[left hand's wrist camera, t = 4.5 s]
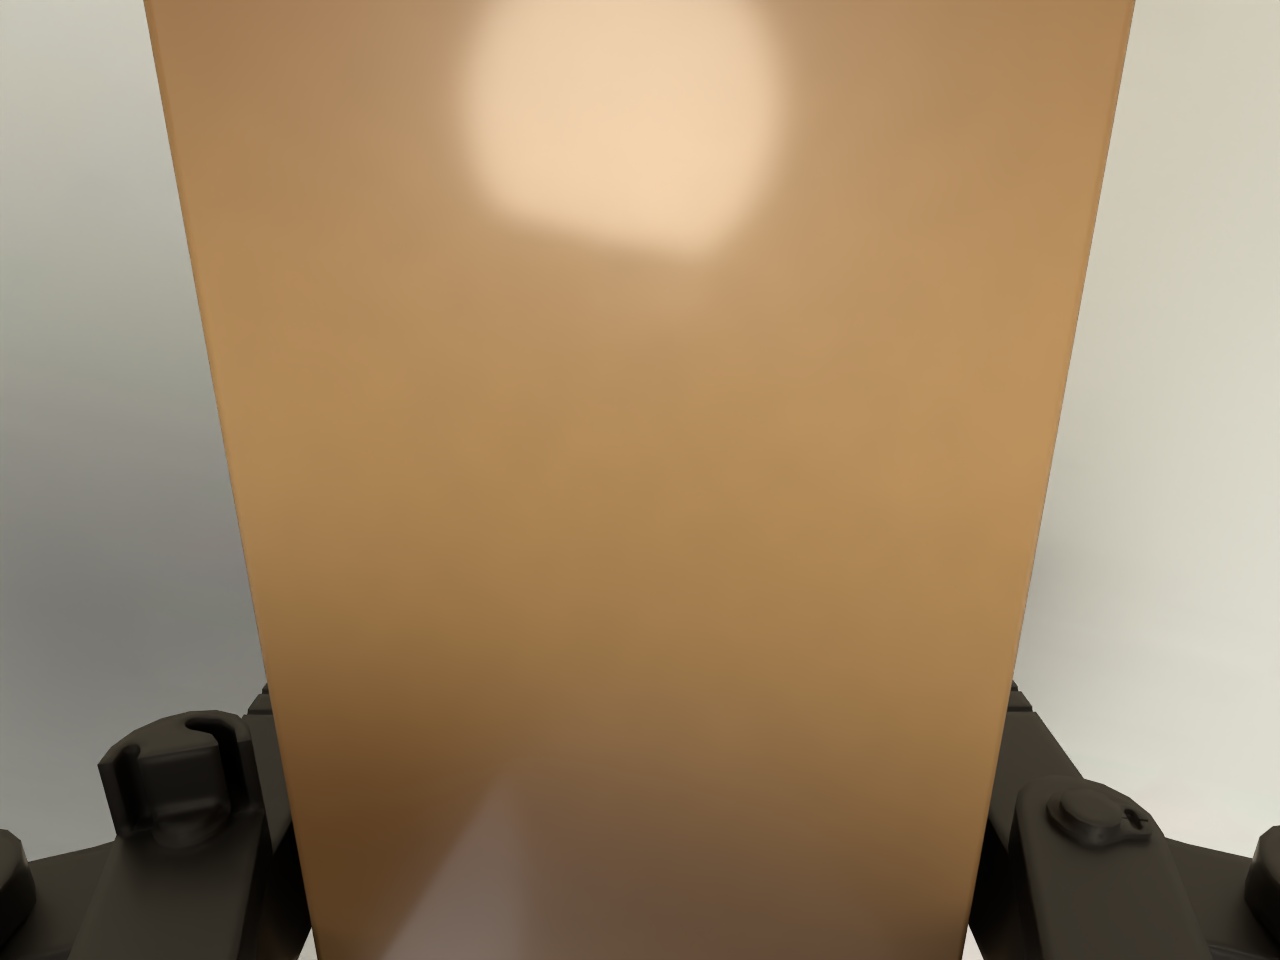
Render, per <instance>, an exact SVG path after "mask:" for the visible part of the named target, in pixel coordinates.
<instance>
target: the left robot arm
mask: <svg viewBox="0 0 1280 960" xmlns="http://www.w3.org/2000/svg"><path fill="white" fill-rule="evenodd" d="M98 769H99V772H100V776H101V780H102V783H103V787H104V790H105V794H106V798H107V801H108V805H109V809H110V812H111V816H112V820H113V823H114V827H115V830H116V834H117V835H116V838H115V841H113V842H109V843H106V844H103V845H99V846H96V847H92V848H88V849H83V850H79V851H74V852H70V853H66V854H61V855H57V856H52V857H48V858H44V859H39V860H35V861H30V862H28V861H27V858H26V855H25V852H24V849H23V846H22V843H21V840H19V839H18V838H17V837H16V836H14V835H13V834H12V833H11V832H9V831H8V830H3V829H0V960H298V958H299V955H300V953H301V951H302V948H303V946H304V943H305V941H306V939H307V936H308V934H309V932H310V929H311V927H312V926H311V920H310V915H309V909H308V904H307V898H306V893H305V887H304V882H303V876H302V871H301V865H300V860H299V854H298V849H297V843H296V838H295V832H294V827H293V821H292V816H291V810H290V805H289V799H288V794H287V788H286V783H285V777H284V772H283V766H282V761H281V755H280V750H279V744H278V739H277V733H276V728H275V722H274V717H273V711H272V706H271V700H270V695H269V689H268V684H267V683H266V685H265V686H264V688H263V689H262V694H259V695H258V696H257V697H256V699H255V700H254V702H253V703H252V705H251V706H250V707H249V709H248V714H247V715H244V716H243V717H242V719H241V718H240V717H239V716H238V715H235V714H231V713H226V712H222V711H218V710H209V711H190V712H186V713H181V714H177V715H173V716H169V717H165V718H161V719H159V720H157V721H155V722H152V723H150V724H148V725H146V726H143V727H141V728H139V729H137V730H134V731H133V732H131V733H130V734H129V735H127V736H126V737H124V738H123V739H122V740H120V741H119V742H117V743H116V744H115V745H113V746H112V747H111V748H110V749H109V750H108V752H107V753H106V754H105V756H104V757H103V758H102V759H101V761H100V762H99V763H98ZM968 924H969V927H970V929H971V931H972V934H973V936H974V938H975V941H976V943H977V945H978V947H979V950H980V952H981V954H982V957H983V959H984V960H1280V825H1279V826H1273V827H1271V828H1270V829H1269V830H1268V831H1266V832H1265V833H1264V834H1263V835H1261V836H1260V838H1259V841H1258V844H1257V847H1256V850H1255V853H1254V856H1253V859H1252V858H1248V857H1243V856H1239V855H1235V854H1230V853H1226V852H1221V851H1217V850H1212V849H1208V848H1203V847H1199V846H1195V845H1190V844H1186V843H1183V842H1179V841H1176V840H1172V839H1169V838H1166V837H1165V836H1164V834H1163V832H1162V831H1161V829H1160V828H1159V826H1158V825H1157V824H1156V822H1155V821H1154V819H1153V818H1152V816H1151V815H1150V814H1149V813H1148V812H1147V811H1145V810H1144V809H1143V808H1142V807H1141V806H1139V805H1138V804H1137V803H1136V802H1134V801H1133V800H1132V799H1131V798H1129V797H1128V796H1126V795H1124V794H1122V793H1120V792H1118V791H1116V790H1114V789H1112V788H1110V787H1108V786H1106V785H1104V784H1101V783H1097V782H1094V781H1090V780H1087V779H1084V778H1083V777H1082V775H1081V774H1080V773H1079V771H1078V770H1077V768H1076V767H1075V766H1074V764H1073V763H1072V762H1071V760H1070V759H1069V757H1068V756H1067V755H1066V753H1065V752H1064V750H1063V749H1062V748H1061V746H1060V745H1059V743H1058V742H1057V741H1056V739H1055V738H1054V736H1053V735H1052V734H1051V732H1050V731H1049V729H1048V728H1047V727H1046V725H1045V724H1044V723H1043V721H1042V720H1041V718H1040V717H1039V716H1038V714H1037V713H1036V712H1033V711H1032V706H1031V704H1030V703H1029V702H1028V700H1027V699H1026V697H1025V696H1024V695H1023V693H1022V692H1021V691H1018V686H1017V685H1016V684H1015V682H1014V681H1013V679H1012V684H1011V690H1010V695H1009V701H1008V706H1007V712H1006V718H1005V723H1004V729H1003V734H1002V740H1001V745H1000V751H999V756H998V762H997V767H996V773H995V778H994V784H993V789H992V795H991V800H990V806H989V811H988V817H987V822H986V828H985V833H984V839H983V844H982V850H981V856H980V861H979V867H978V872H977V878H976V883H975V889H974V894H973V900H972V905H971V911H970V916H969V922H968Z"/></svg>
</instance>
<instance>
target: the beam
mask: <svg viewBox="0 0 1280 960" xmlns="http://www.w3.org/2000/svg"><path fill="white" fill-rule="evenodd" d="M143 1H144V6H145V12H146V17H147V23H148V28H149V34H150V39H151V45H152V50H153V56H154V61H155V67H156V72H157V78H158V83H159V89H160V94H161V100H162V105H163V111H164V116H165V122H166V127H167V133H168V138H169V144H170V149H171V155H172V160H173V166H174V171H175V177H176V182H177V188H178V193H179V199H180V204H181V210H182V215H183V221H184V226H185V232H186V237H187V243H188V248H189V254H190V259H191V265H192V270H193V276H194V281H195V287H196V292H197V298H198V304H199V309H200V315H201V320H202V326H203V331H204V337H205V342H206V348H207V353H208V359H209V364H210V370H211V375H212V381H213V386H214V392H215V397H216V403H217V408H218V414H219V419H220V425H221V430H222V436H223V441H224V447H225V452H226V458H227V463H228V469H229V474H230V480H231V485H232V491H233V496H234V502H235V507H236V513H237V518H238V524H239V529H240V535H241V540H242V546H243V551H244V557H245V562H246V568H247V573H248V579H249V584H250V590H251V595H252V601H253V606H254V612H255V617H256V623H257V628H258V634H259V639H260V645H261V650H262V656H263V661H264V667H265V673H266V678H267V684H268V689H269V695H270V700H271V706H272V711H273V717H274V722H275V728H276V733H277V739H278V744H279V750H280V755H281V761H282V766H283V772H284V777H285V783H286V788H287V794H288V799H289V805H290V810H291V816H292V821H293V827H294V832H295V838H296V843H297V849H298V854H299V860H300V865H301V871H302V876H303V882H304V887H305V893H306V898H307V904H308V909H309V915H310V920H311V926H312V931H313V937H314V942H315V948H316V953H317V959H318V960H962V955H963V949H964V944H965V938H966V933H967V927H968V922H969V916H970V911H971V905H972V900H973V894H974V889H975V883H976V878H977V872H978V867H979V861H980V856H981V850H982V844H983V839H984V833H985V828H986V822H987V817H988V811H989V806H990V800H991V795H992V789H993V784H994V778H995V773H996V767H997V762H998V756H999V751H1000V745H1001V740H1002V734H1003V729H1004V723H1005V718H1006V712H1007V706H1008V701H1009V695H1010V690H1011V684H1012V679H1013V673H1014V668H1015V662H1016V657H1017V651H1018V646H1019V640H1020V635H1021V629H1022V624H1023V618H1024V613H1025V607H1026V602H1027V596H1028V591H1029V585H1030V579H1031V574H1032V568H1033V563H1034V557H1035V552H1036V546H1037V541H1038V535H1039V530H1040V524H1041V519H1042V513H1043V508H1044V502H1045V497H1046V491H1047V486H1048V480H1049V475H1050V469H1051V464H1052V458H1053V453H1054V447H1055V441H1056V436H1057V430H1058V425H1059V419H1060V414H1061V408H1062V403H1063V397H1064V392H1065V386H1066V381H1067V375H1068V370H1069V364H1070V359H1071V353H1072V348H1073V342H1074V337H1075V331H1076V326H1077V320H1078V315H1079V309H1080V303H1081V298H1082V292H1083V287H1084V281H1085V276H1086V270H1087V265H1088V259H1089V254H1090V248H1091V243H1092V237H1093V232H1094V226H1095V221H1096V215H1097V210H1098V204H1099V199H1100V193H1101V188H1102V182H1103V177H1104V171H1105V165H1106V160H1107V154H1108V149H1109V143H1110V138H1111V132H1112V127H1113V121H1114V116H1115V110H1116V105H1117V99H1118V94H1119V88H1120V83H1121V77H1122V72H1123V66H1124V61H1125V55H1126V50H1127V44H1128V39H1129V33H1130V27H1131V22H1132V16H1133V11H1134V5H1135V0H143Z"/></svg>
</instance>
